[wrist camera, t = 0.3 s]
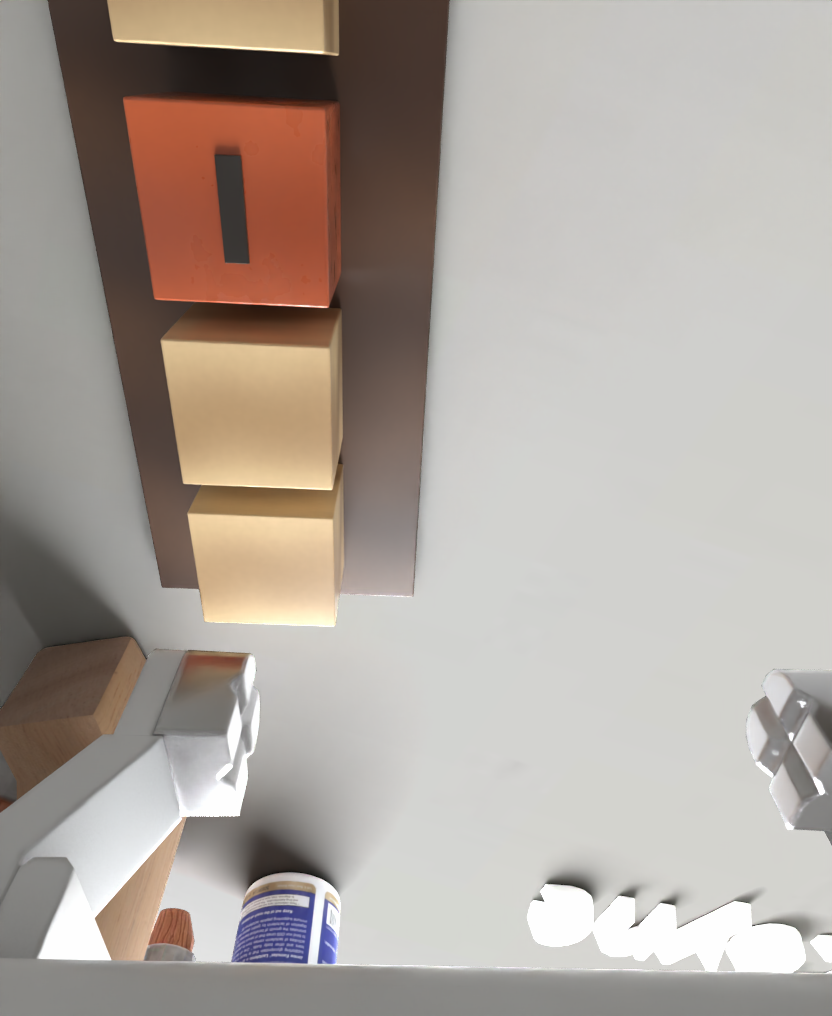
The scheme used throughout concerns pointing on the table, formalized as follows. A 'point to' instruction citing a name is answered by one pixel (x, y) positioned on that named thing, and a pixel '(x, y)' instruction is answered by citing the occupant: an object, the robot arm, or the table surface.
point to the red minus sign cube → (238, 196)
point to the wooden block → (67, 731)
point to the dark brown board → (266, 328)
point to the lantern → (829, 835)
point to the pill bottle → (288, 921)
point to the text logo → (670, 932)
